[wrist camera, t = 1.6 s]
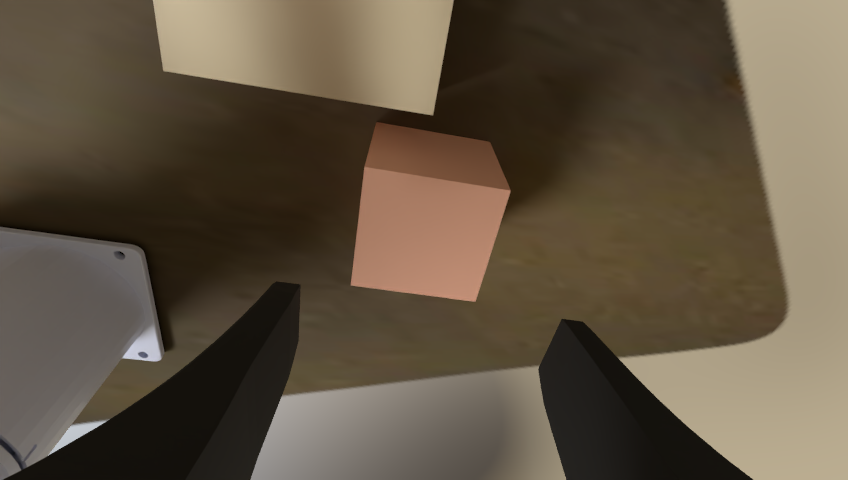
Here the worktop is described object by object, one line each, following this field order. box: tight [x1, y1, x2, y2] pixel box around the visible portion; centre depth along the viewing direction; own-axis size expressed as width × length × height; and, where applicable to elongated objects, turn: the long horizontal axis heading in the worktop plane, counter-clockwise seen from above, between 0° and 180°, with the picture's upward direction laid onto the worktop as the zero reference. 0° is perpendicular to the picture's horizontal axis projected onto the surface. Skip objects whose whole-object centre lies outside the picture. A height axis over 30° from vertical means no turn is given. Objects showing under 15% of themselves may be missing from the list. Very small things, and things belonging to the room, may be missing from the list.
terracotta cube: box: [351, 122, 511, 302], centre depth 18 cm, size 5×5×5 cm
